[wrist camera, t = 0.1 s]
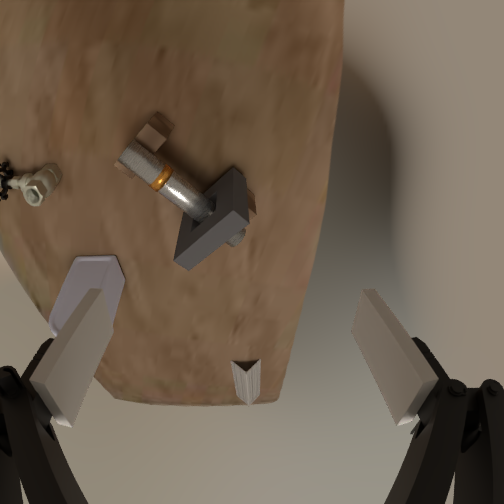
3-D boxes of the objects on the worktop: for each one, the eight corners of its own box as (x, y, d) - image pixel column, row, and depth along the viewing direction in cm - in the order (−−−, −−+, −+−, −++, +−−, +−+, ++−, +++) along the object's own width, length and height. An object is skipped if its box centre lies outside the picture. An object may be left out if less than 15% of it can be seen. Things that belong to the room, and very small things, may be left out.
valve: (61, 154, 35) (6, 154, 32) (39, 176, 30) (-17, 174, 28) (66, 191, 39) (12, 188, 37) (47, 216, 34) (-7, 210, 32)
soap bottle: (88, 281, 52) (55, 385, 35) (75, 255, 48) (32, 364, 31) (127, 281, 53) (100, 393, 36) (116, 254, 48) (79, 373, 31)
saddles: (125, 149, 36) (113, 165, 32) (157, 111, 33) (147, 123, 29) (220, 222, 45) (219, 244, 41) (254, 194, 42) (256, 214, 38)
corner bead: (261, 392, 96) (262, 405, 92) (235, 394, 95) (235, 406, 92) (262, 356, 76) (263, 372, 72) (228, 358, 76) (228, 374, 72)
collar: (183, 212, 41) (173, 260, 34) (233, 167, 37) (233, 210, 30) (196, 221, 43) (188, 270, 35) (246, 178, 38) (249, 223, 31)
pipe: (122, 154, 31) (113, 165, 29) (137, 134, 30) (128, 145, 27) (228, 236, 40) (228, 251, 38) (245, 222, 39) (246, 238, 37)
